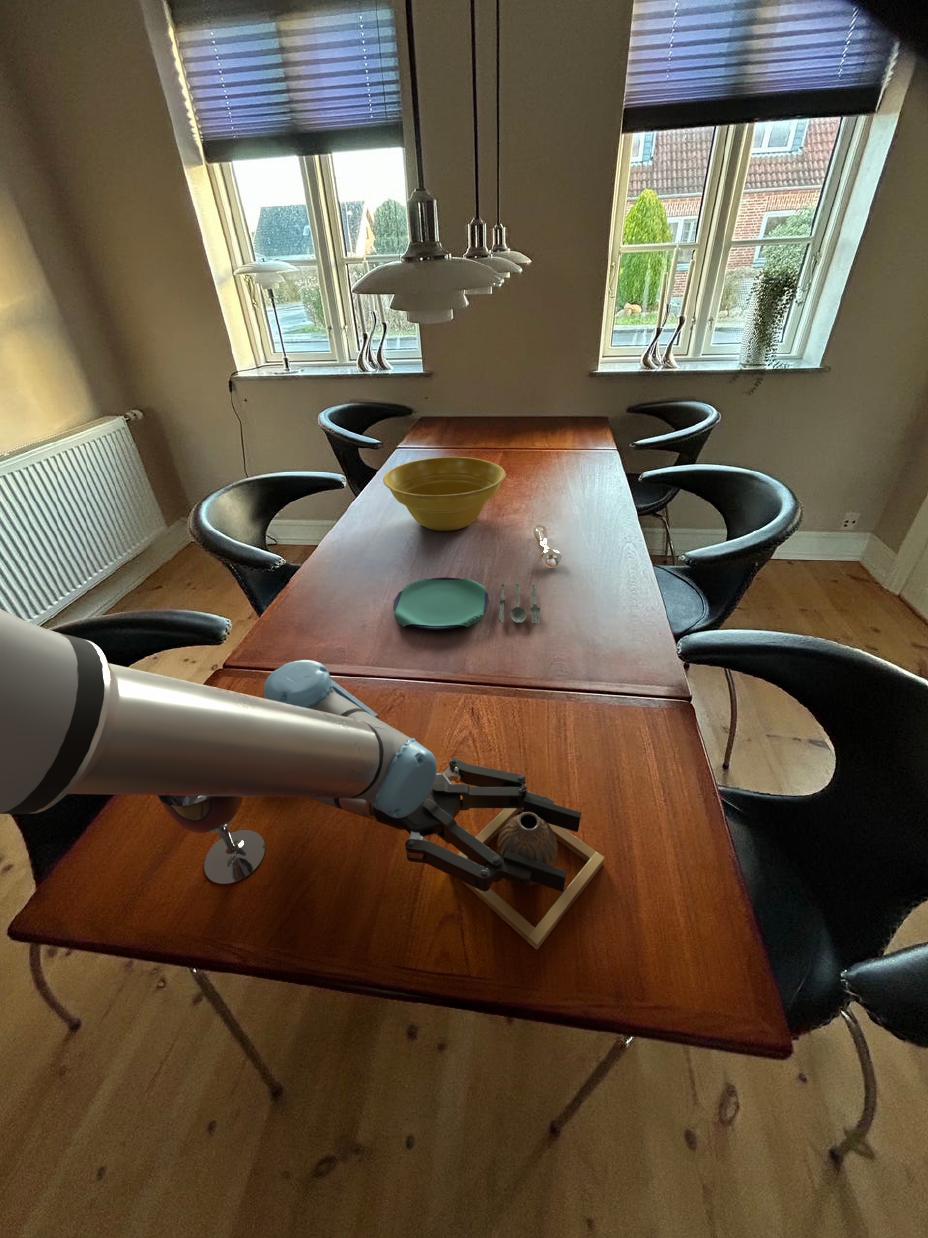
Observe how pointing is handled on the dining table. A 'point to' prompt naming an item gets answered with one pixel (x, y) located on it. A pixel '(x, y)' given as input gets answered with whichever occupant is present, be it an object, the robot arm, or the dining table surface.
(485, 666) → the dining table surface
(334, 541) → the dining table surface
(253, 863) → the wine glass
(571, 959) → the dining table surface
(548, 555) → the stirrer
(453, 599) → the cutlery set
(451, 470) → the planter bowl
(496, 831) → the oak frame
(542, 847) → the vase
